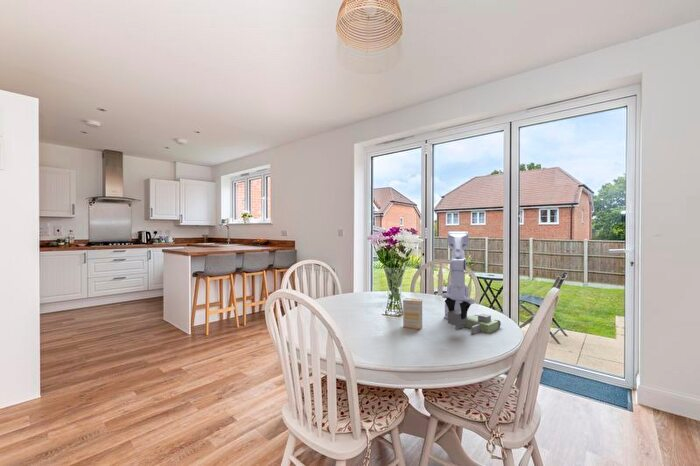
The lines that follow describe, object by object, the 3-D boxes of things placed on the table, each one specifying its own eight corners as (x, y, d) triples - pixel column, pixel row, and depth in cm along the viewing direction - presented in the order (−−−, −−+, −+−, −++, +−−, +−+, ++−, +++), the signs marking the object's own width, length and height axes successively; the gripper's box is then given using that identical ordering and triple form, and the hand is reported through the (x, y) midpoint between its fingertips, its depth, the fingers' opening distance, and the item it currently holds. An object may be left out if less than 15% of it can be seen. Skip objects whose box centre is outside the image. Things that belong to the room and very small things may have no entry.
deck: (455, 328, 142) (455, 315, 141) (475, 321, 152) (475, 309, 152) (480, 336, 132) (481, 322, 132) (501, 327, 143) (501, 315, 142)
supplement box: (422, 326, 144) (422, 298, 144) (420, 330, 140) (420, 301, 140) (405, 324, 148) (405, 297, 148) (402, 327, 144) (402, 299, 143)
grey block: (447, 323, 135) (447, 311, 134) (456, 320, 139) (457, 309, 139) (457, 326, 131) (457, 314, 131) (467, 323, 135) (467, 311, 135)
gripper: (438, 284, 138) (438, 315, 138) (467, 290, 126) (467, 323, 127) (447, 282, 142) (447, 312, 142) (477, 287, 131) (476, 319, 131)
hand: (457, 317), depth 135 cm, fingers closed on grey block, 5 cm apart
